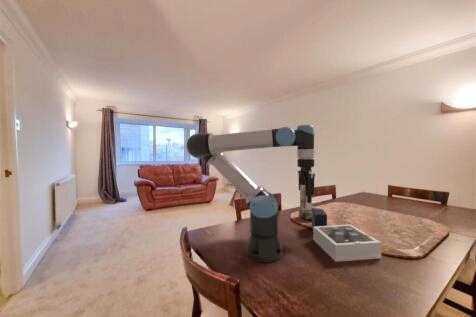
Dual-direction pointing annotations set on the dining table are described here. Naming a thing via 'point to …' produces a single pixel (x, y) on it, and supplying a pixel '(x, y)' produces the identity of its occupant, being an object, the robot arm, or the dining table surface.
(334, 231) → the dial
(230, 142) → the robot arm
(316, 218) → the small box
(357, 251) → the white open square box
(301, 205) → the long wooden block
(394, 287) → the dining table surface
